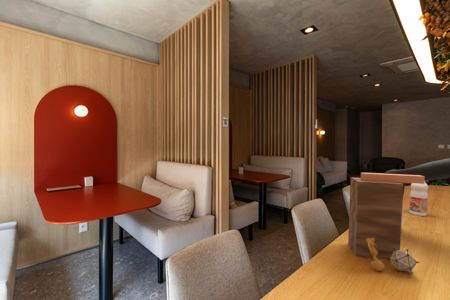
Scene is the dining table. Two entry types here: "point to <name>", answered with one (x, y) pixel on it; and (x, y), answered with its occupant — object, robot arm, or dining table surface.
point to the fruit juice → (418, 199)
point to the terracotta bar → (392, 178)
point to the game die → (403, 260)
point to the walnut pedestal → (375, 217)
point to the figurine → (375, 263)
